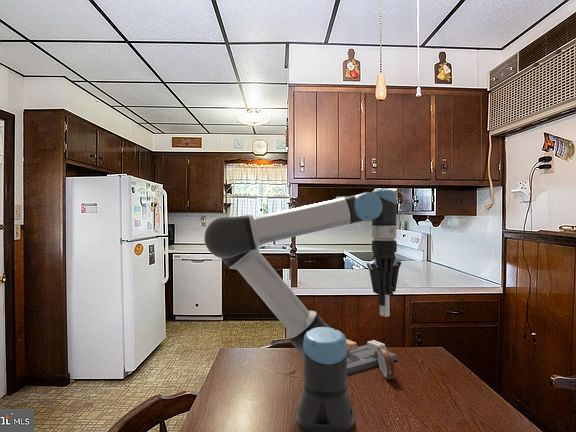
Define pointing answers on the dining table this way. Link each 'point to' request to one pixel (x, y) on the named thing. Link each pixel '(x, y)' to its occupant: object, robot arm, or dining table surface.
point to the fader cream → (374, 345)
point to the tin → (386, 363)
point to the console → (363, 359)
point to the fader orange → (351, 345)
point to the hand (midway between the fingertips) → (384, 315)
